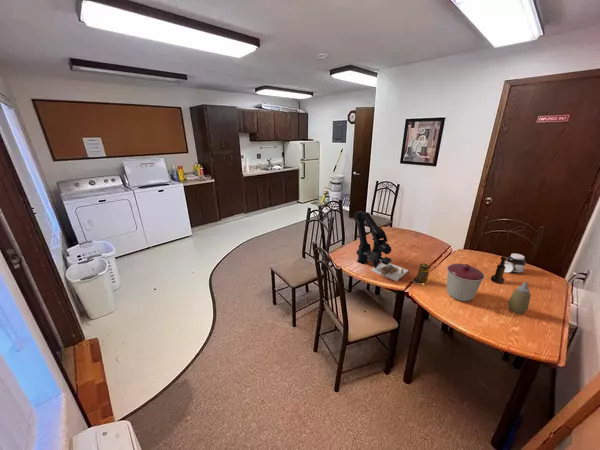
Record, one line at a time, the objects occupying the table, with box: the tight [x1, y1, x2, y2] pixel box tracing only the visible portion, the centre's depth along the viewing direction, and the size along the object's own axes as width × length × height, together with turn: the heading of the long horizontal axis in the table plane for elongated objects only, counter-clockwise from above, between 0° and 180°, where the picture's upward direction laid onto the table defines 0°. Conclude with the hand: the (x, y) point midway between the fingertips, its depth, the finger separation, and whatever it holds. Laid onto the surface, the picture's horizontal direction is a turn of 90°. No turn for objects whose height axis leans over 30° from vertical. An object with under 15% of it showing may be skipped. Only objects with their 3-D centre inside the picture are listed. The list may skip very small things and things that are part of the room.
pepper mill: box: [490, 255, 508, 284], centre depth 153 cm, size 7×6×18 cm
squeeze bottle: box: [507, 281, 532, 315], centre depth 127 cm, size 8×8×18 cm
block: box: [380, 264, 398, 276], centre depth 167 cm, size 14×8×3 cm, turn 132°
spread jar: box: [504, 253, 527, 274], centre depth 164 cm, size 12×11×12 cm
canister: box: [446, 263, 486, 302], centre depth 139 cm, size 18×18×21 cm
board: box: [371, 261, 409, 282], centre depth 170 cm, size 19×17×5 cm
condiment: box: [411, 263, 430, 285], centre depth 156 cm, size 7×8×12 cm
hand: (375, 267), depth 169 cm, fingers closed
